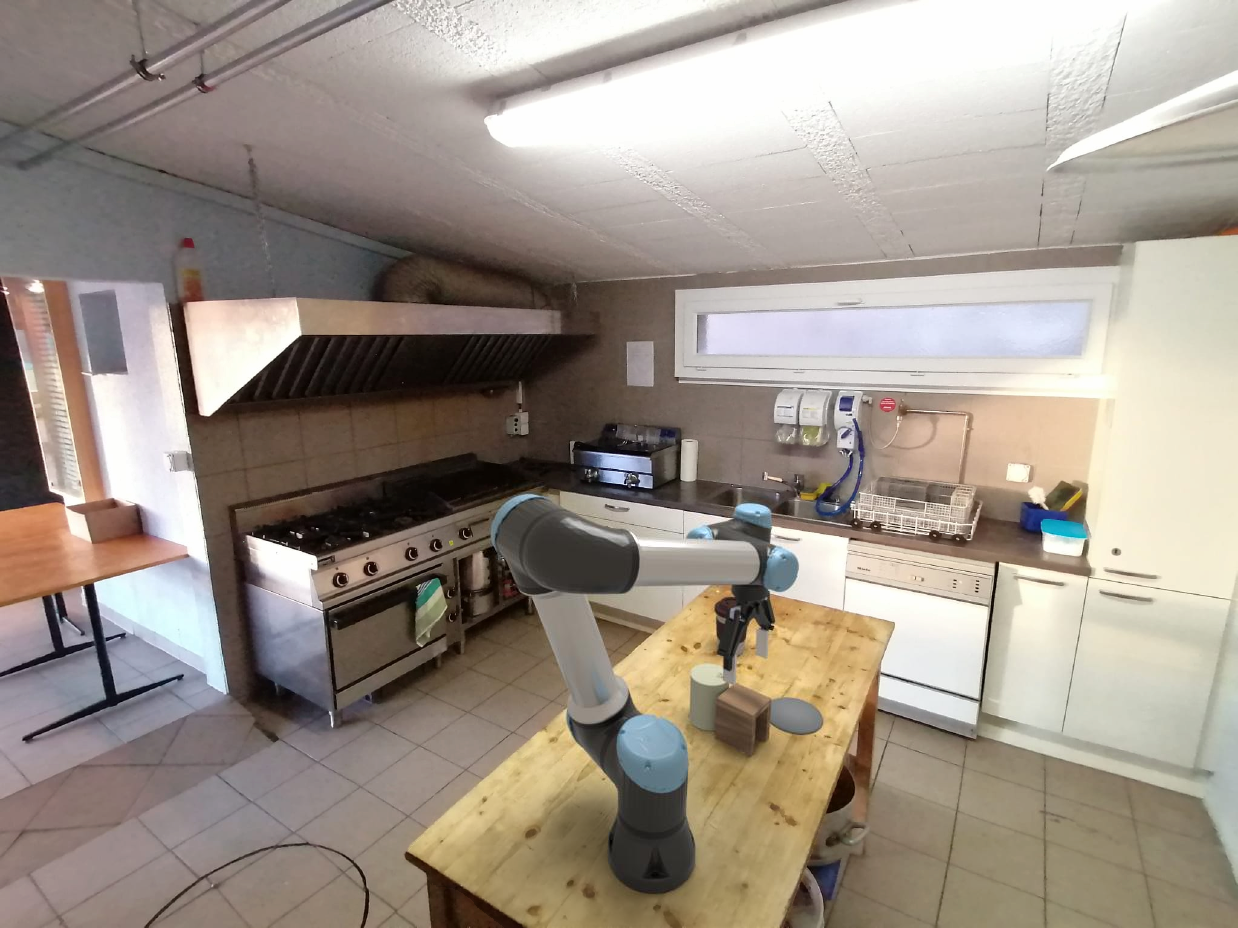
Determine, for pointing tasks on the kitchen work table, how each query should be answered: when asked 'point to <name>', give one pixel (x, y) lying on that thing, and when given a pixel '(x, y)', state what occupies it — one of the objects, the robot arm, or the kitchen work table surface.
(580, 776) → the kitchen work table surface
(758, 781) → the kitchen work table surface
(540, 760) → the kitchen work table surface
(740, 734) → the wooden stool
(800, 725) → the rubber mat
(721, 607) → the coffee cup
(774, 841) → the kitchen work table surface
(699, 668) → the can
